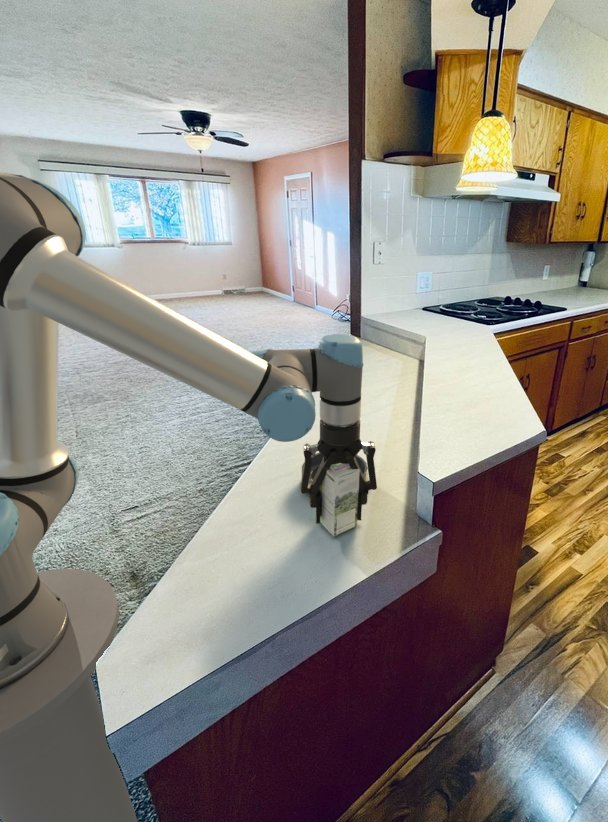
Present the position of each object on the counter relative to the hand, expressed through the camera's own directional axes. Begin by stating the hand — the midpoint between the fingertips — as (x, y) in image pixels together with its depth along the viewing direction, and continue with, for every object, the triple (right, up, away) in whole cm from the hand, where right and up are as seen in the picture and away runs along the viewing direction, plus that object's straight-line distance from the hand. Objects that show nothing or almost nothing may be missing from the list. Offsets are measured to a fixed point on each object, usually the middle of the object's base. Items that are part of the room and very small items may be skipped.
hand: (338, 517), depth 84 cm
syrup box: (0, -2, +1) cm, 2 cm away
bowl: (-2, +3, +13) cm, 14 cm away
